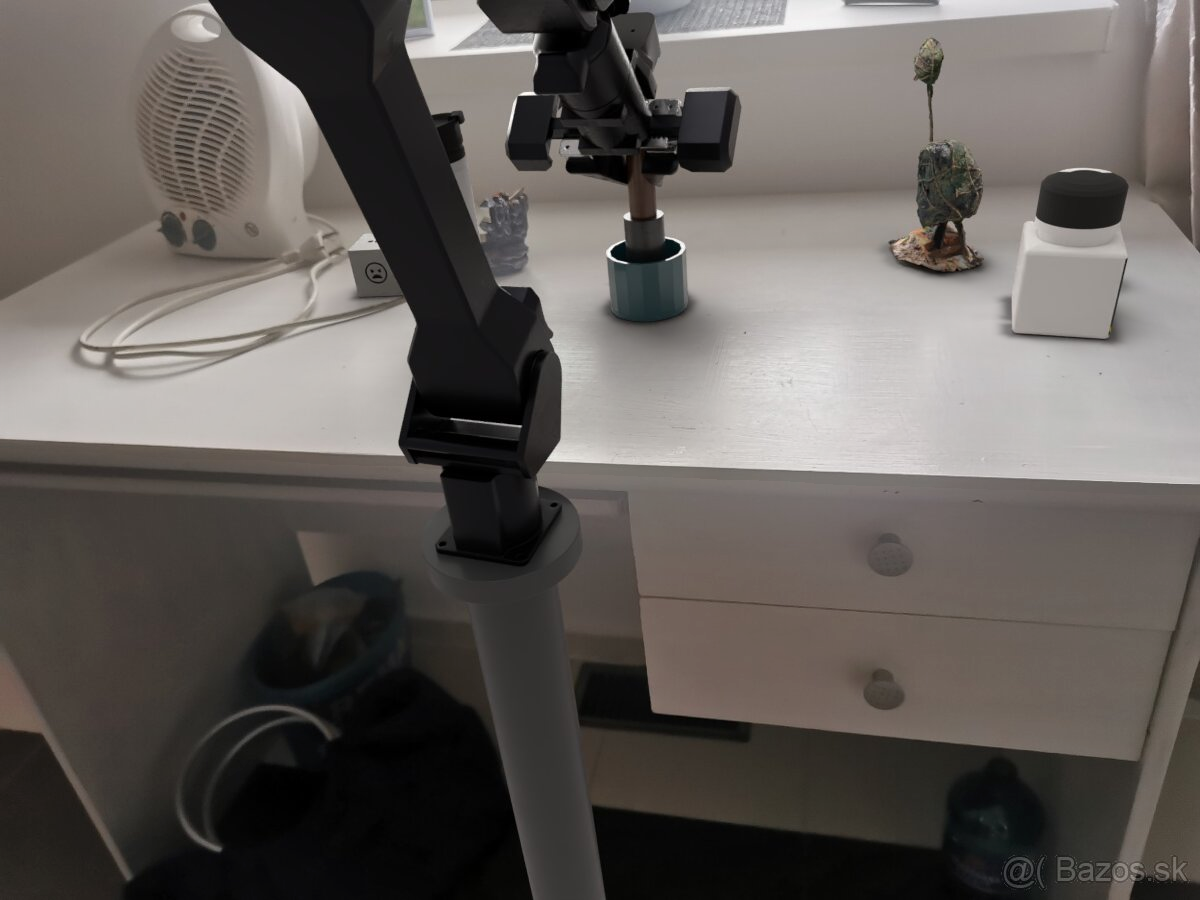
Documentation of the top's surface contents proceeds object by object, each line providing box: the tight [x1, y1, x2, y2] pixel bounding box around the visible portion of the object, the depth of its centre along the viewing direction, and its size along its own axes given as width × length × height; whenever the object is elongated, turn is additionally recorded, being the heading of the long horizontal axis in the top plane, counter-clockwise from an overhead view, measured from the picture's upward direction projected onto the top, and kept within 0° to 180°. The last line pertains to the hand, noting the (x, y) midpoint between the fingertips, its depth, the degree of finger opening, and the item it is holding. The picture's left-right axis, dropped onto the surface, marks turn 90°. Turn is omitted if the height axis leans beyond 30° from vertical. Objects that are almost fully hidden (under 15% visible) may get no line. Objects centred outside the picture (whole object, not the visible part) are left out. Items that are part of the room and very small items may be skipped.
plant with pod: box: [887, 36, 985, 273], centre depth 83 cm, size 8×11×20 cm
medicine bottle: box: [1011, 167, 1130, 340], centre depth 72 cm, size 7×7×12 cm
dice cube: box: [347, 232, 403, 298], centre depth 94 cm, size 5×5×5 cm
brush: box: [622, 149, 666, 263], centre depth 80 cm, size 4×4×11 cm
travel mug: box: [431, 109, 482, 243], centre depth 76 cm, size 6×7×20 cm
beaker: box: [605, 236, 689, 323], centre depth 84 cm, size 7×7×6 cm
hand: (646, 181), depth 81 cm, fingers closed on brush, 2 cm apart
